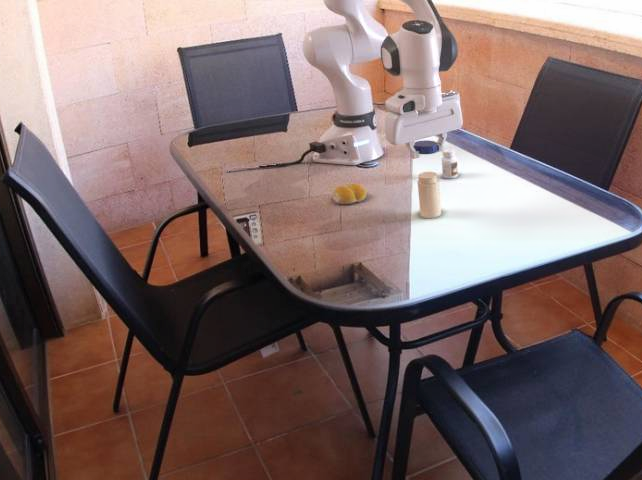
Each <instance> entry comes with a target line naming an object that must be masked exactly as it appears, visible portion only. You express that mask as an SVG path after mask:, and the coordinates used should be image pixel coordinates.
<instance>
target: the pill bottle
mask: <svg viewBox="0 0 642 480" xmlns="http://www.w3.org/2000/svg"><path fill="white" fill-rule="evenodd" d="M442 156H443V157H442V158H441V170H442V177H443V178H444V179H455V178H457V177H458V175H459V174H458V171H459V170H458V159H457V158H458V157H456V150H455V149H454V148H444V150H443V151H442Z"/></svg>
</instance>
